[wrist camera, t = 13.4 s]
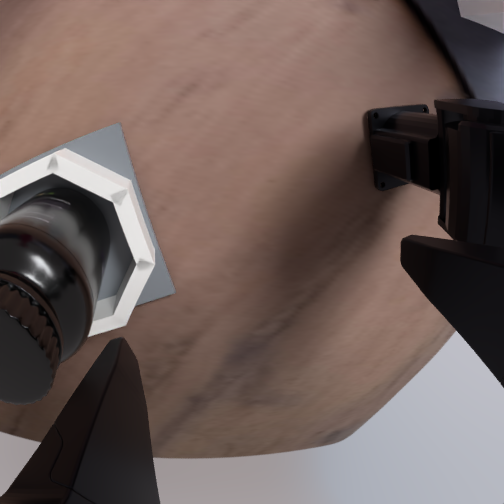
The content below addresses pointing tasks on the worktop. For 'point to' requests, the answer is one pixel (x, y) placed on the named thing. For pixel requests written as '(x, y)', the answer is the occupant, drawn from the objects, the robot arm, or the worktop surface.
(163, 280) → the collar seat
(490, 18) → the milk
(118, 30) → the worktop surface
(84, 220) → the supplement bottle
